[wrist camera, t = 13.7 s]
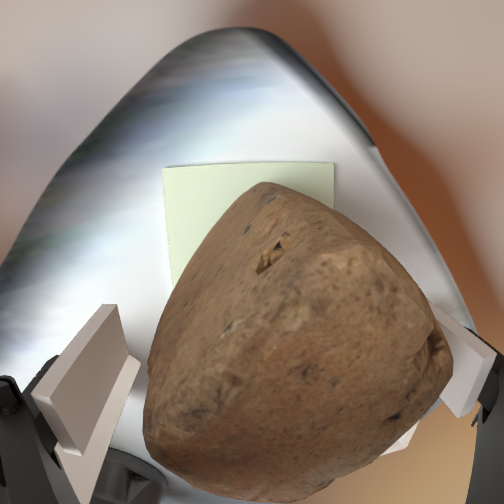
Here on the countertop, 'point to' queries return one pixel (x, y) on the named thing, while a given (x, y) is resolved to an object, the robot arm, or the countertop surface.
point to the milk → (99, 437)
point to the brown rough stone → (288, 353)
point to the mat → (227, 197)
